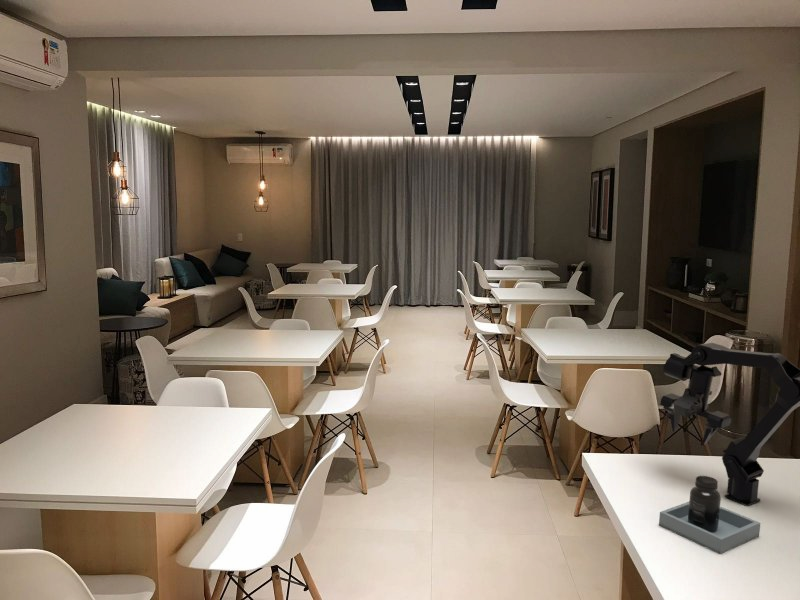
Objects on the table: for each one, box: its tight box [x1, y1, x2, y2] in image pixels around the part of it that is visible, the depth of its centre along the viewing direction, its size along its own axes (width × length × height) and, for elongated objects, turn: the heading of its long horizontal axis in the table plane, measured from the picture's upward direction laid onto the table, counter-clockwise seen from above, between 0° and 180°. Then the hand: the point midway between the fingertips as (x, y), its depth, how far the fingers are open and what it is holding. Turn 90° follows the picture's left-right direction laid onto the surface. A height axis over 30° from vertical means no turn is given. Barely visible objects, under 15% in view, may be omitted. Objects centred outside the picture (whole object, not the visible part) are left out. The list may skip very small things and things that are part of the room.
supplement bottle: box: [688, 475, 722, 532], centre depth 163 cm, size 7×7×12 cm
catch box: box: [658, 501, 761, 555], centre depth 163 cm, size 16×16×4 cm
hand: (688, 437), depth 193 cm, fingers open, 9 cm apart
